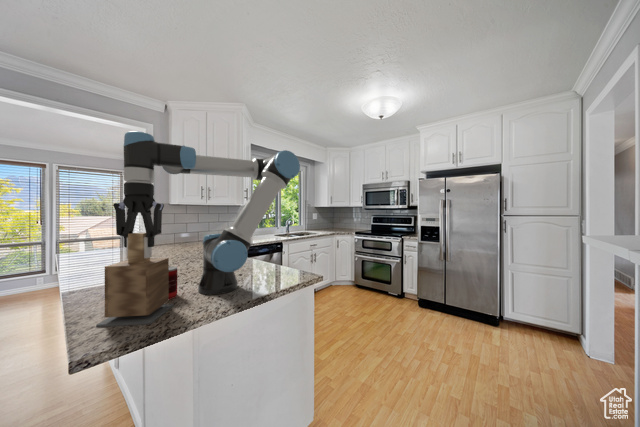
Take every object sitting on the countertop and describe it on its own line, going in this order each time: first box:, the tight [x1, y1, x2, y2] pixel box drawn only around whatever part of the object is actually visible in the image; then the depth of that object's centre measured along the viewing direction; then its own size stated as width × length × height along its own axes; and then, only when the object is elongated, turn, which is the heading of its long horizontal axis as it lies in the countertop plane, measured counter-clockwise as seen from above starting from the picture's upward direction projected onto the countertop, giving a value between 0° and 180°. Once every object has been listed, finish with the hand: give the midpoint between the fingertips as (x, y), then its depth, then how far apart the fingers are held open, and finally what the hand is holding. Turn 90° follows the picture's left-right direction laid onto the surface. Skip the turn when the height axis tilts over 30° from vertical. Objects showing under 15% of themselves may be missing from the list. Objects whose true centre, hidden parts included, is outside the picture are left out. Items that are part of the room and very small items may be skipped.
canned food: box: [169, 265, 178, 300], centre depth 90 cm, size 8×8×11 cm
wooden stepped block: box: [104, 232, 170, 318], centre depth 75 cm, size 12×12×24 cm
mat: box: [95, 303, 175, 328], centre depth 75 cm, size 14×14×1 cm
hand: (139, 257), depth 75 cm, fingers open, 4 cm apart
